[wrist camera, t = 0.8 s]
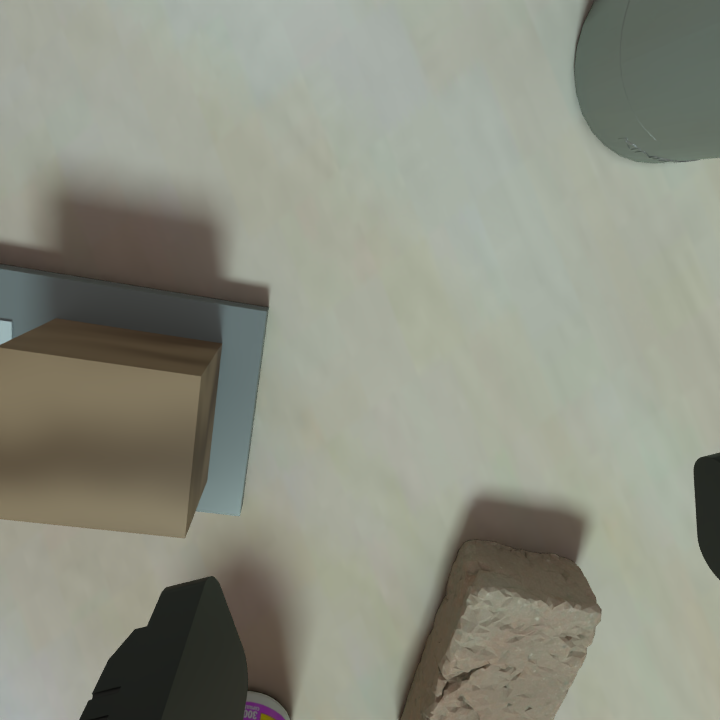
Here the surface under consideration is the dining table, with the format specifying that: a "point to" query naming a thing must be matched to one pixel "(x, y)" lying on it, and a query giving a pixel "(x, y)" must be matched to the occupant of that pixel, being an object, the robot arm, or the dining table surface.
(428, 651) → the brick
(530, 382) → the dining table surface
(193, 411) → the walnut plinth
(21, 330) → the slate board
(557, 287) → the dining table surface
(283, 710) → the supplement bottle
